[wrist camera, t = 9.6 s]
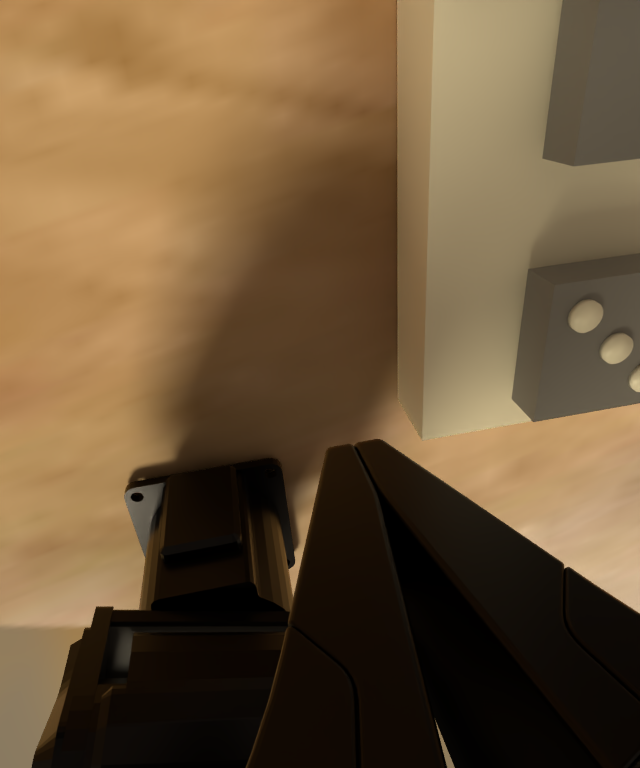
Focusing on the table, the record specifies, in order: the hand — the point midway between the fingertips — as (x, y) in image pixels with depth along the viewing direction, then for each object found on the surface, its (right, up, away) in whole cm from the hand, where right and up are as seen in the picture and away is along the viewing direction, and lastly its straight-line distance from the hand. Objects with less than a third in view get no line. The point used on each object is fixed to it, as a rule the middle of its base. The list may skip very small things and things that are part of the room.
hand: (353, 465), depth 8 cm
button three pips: (+8, +3, +10) cm, 13 cm away
